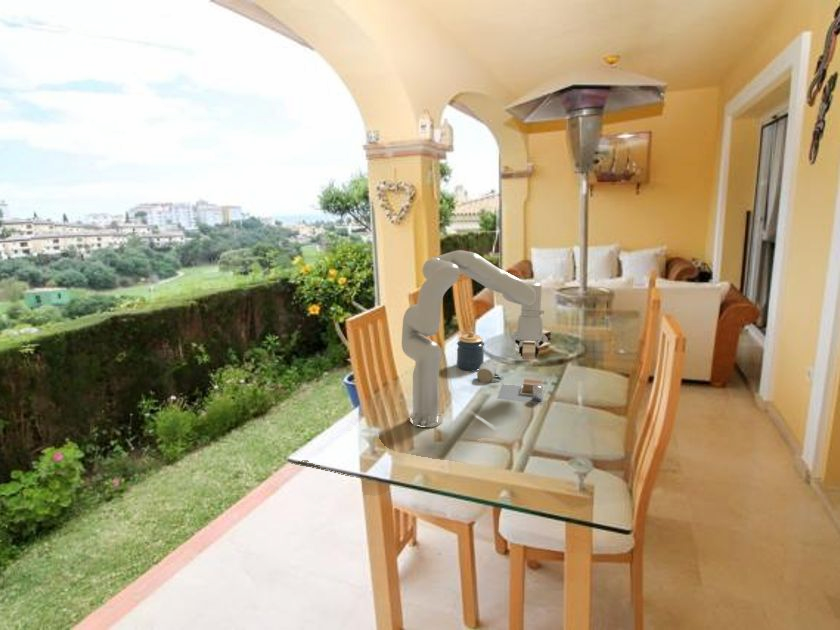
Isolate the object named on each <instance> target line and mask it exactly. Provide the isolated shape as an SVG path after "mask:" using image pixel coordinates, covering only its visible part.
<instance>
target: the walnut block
mask: <svg viewBox="0 0 840 630" xmlns="http://www.w3.org/2000/svg"><path fill="white" fill-rule="evenodd" d="M542 380H543V379H541V378H530V377H524V380H523V383H522V384H523V393H529V394H532V392H533V385H535V384H540V385H542Z"/></svg>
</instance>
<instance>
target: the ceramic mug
mask: <svg viewBox="0 0 840 630" xmlns="http://www.w3.org/2000/svg"><path fill="white" fill-rule="evenodd" d="M496 369H497V368H496V366H495V365H494V364H493V362H488V361H485V362H484V363H482V364H481V365H480V367H479V370H477V373H476V375H477V379H478V380H479V382H482V383H491V382H492V383H499V382H498V381H500V379H499V380H498V379H497V378H496V379H495V378H494V377H495V376H500V375H499V374H498V373H497V370H496ZM500 382H501V381H500Z"/></svg>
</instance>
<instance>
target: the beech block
mask: <svg viewBox="0 0 840 630" xmlns="http://www.w3.org/2000/svg"><path fill="white" fill-rule="evenodd" d="M522 345H523V352H522V356H521V358H522V360H536V357H535V347H536V343H535V341H526V340H524V341H523V344H522Z"/></svg>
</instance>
